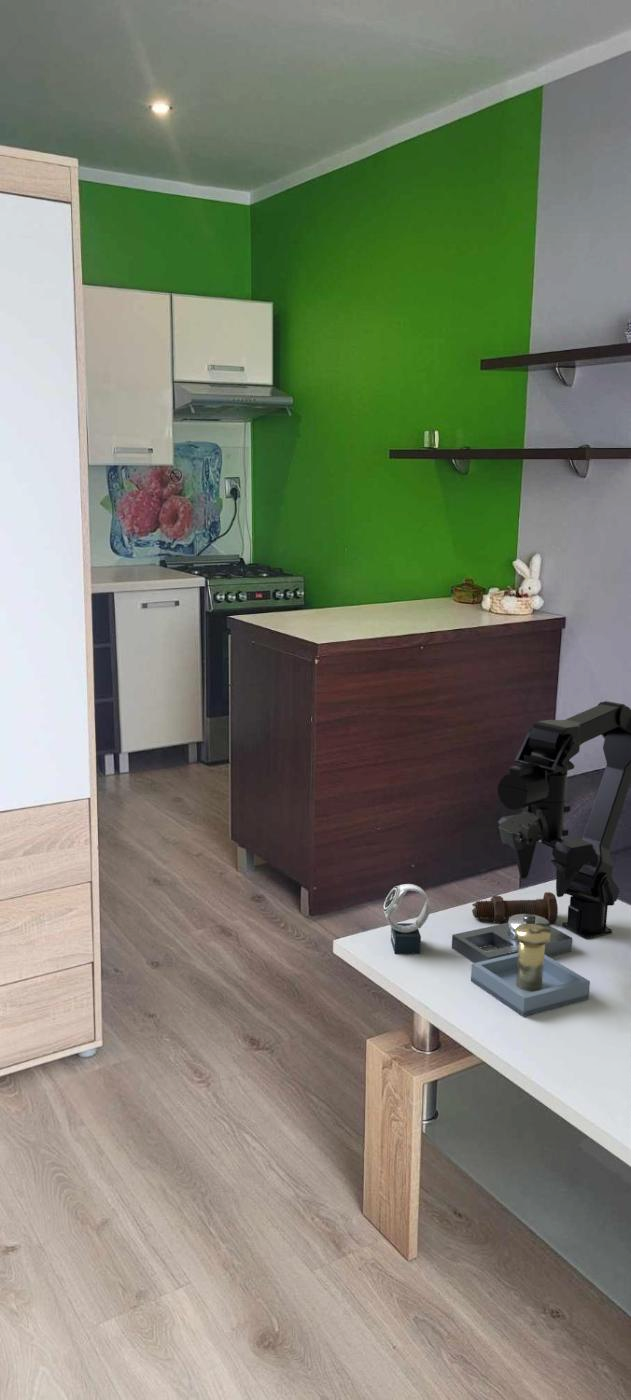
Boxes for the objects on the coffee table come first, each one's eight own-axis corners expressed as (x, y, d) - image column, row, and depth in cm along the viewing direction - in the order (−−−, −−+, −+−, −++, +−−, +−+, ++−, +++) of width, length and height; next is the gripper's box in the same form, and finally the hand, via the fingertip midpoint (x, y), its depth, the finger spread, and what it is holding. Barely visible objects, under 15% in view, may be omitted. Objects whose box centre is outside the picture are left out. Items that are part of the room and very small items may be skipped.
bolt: (472, 927, 196) (552, 925, 197) (476, 924, 192) (559, 922, 192) (469, 895, 198) (549, 894, 199) (474, 891, 193) (556, 890, 194)
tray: (533, 965, 177) (535, 948, 176) (588, 999, 166) (590, 981, 165) (470, 981, 171) (471, 963, 170) (523, 1016, 159) (524, 998, 159)
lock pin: (531, 975, 171) (535, 921, 170) (553, 989, 167) (557, 934, 165) (504, 981, 169) (508, 927, 167) (526, 996, 164) (530, 940, 162)
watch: (379, 940, 185) (382, 880, 183) (425, 940, 186) (428, 880, 184) (383, 953, 180) (385, 892, 178) (430, 953, 180) (433, 892, 178)
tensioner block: (533, 930, 191) (535, 901, 190) (571, 951, 183) (573, 921, 181) (451, 948, 183) (453, 918, 182) (487, 971, 174) (489, 940, 173)
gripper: (474, 789, 180) (469, 876, 183) (547, 820, 164) (540, 915, 167) (525, 781, 185) (520, 866, 188) (601, 811, 169) (594, 903, 172)
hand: (541, 887), depth 179 cm, fingers open, 9 cm apart
